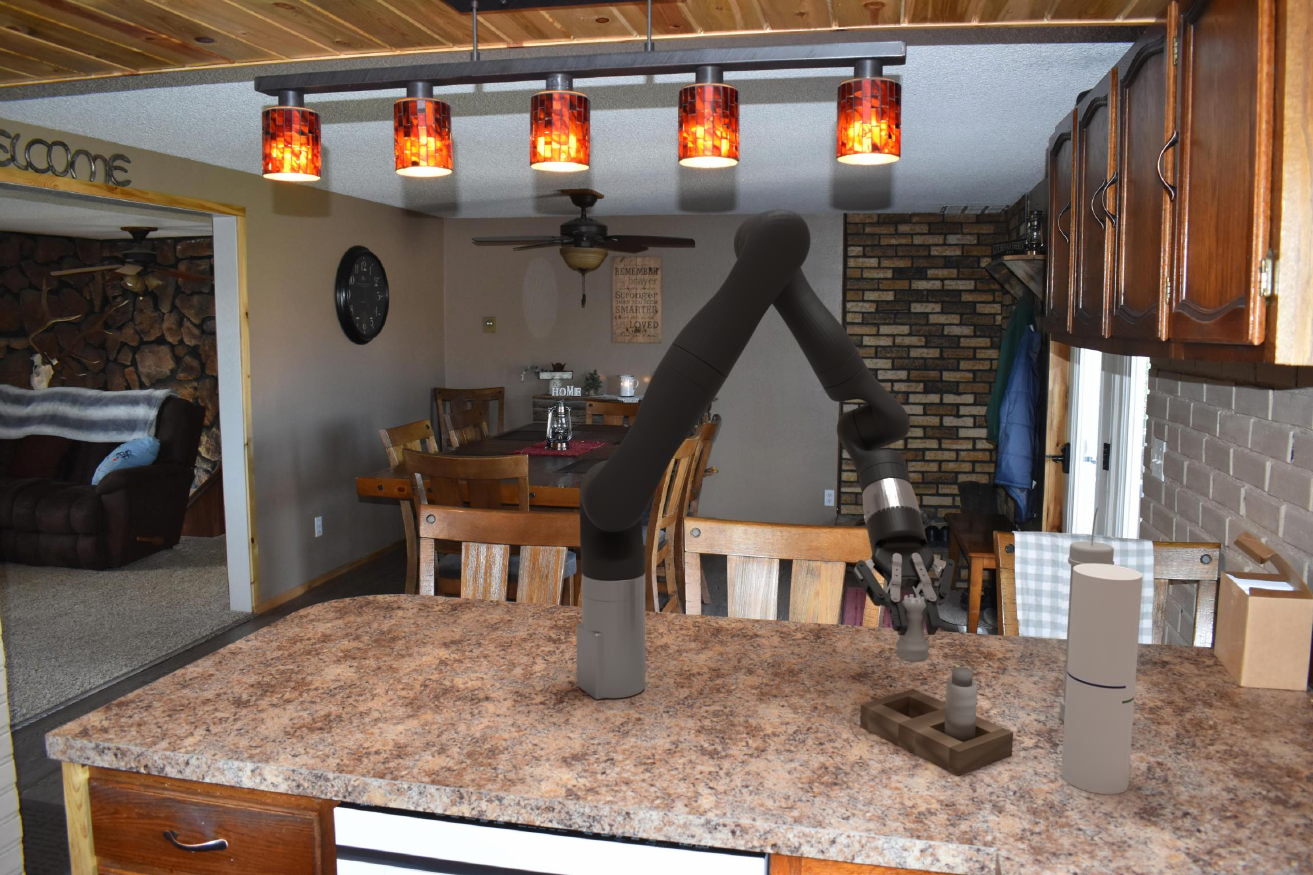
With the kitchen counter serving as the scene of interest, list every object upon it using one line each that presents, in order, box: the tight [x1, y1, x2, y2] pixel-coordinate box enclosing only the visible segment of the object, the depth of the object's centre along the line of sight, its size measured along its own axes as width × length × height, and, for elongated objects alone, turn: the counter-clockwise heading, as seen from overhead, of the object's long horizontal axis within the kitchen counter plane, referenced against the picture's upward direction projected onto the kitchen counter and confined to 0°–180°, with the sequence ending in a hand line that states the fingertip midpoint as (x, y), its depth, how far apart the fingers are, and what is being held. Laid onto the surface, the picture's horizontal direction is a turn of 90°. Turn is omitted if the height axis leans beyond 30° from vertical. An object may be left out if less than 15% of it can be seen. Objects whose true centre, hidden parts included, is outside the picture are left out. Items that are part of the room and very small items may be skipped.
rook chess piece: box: [894, 593, 931, 663], centre depth 120 cm, size 4×4×8 cm
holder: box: [859, 666, 1014, 777], centre depth 117 cm, size 16×10×11 cm, turn 32°
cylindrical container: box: [1060, 563, 1144, 795], centre depth 106 cm, size 7×7×25 cm
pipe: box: [1059, 506, 1115, 723], centre depth 121 cm, size 6×6×30 cm
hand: (918, 631), depth 118 cm, fingers closed on rook chess piece, 3 cm apart
